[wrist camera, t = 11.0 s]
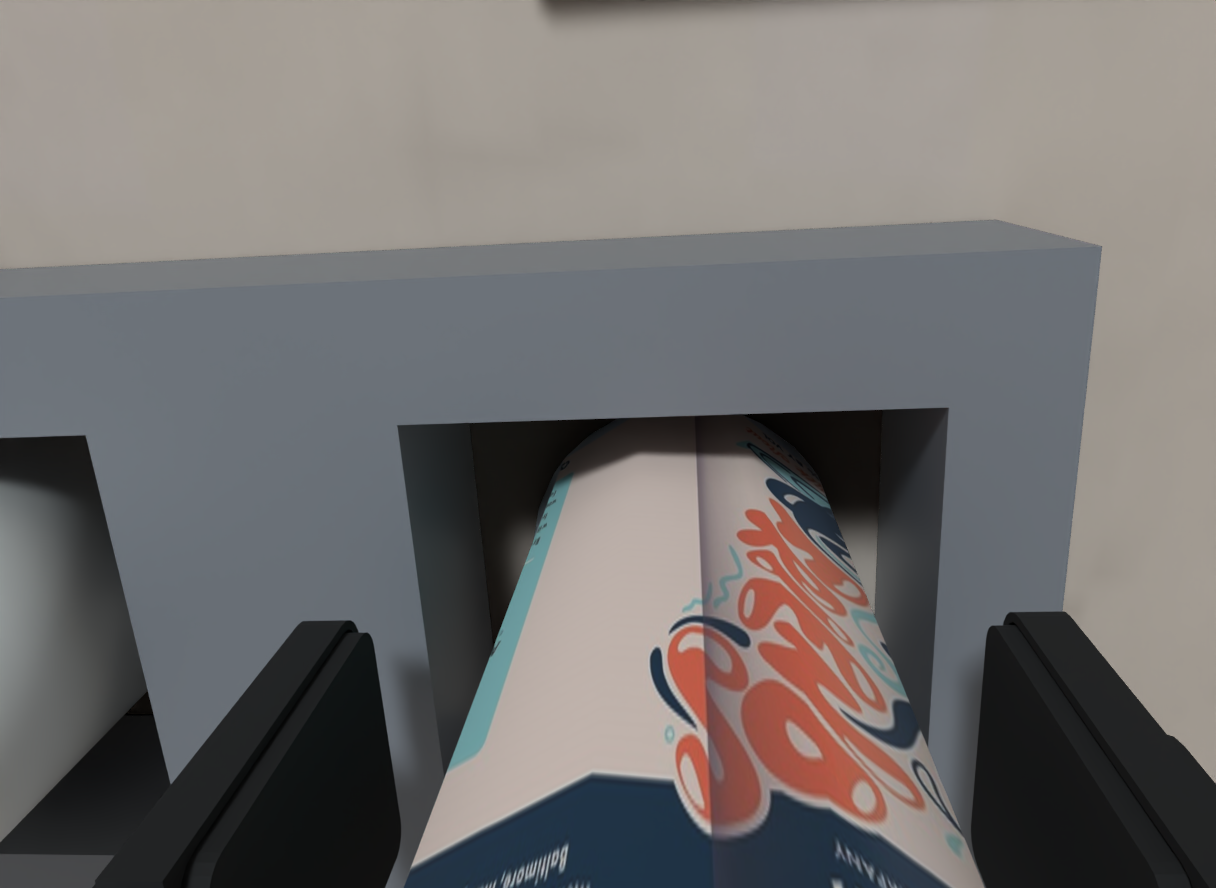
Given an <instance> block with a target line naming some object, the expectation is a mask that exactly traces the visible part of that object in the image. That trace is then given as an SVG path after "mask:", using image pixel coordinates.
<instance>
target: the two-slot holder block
mask: <svg viewBox="0 0 1216 888" xmlns="http://www.w3.org/2000/svg"><path fill="white" fill-rule="evenodd" d="M1101 251H1102V246H1099V245H1095V244H1091V243H1087V242H1083V241H1079V240H1075V239H1071V238H1067V237H1063V236H1059V235H1055V234H1051V233H1047V232H1043V231H1039V230H1035V229H1031V228H1027V227H1023V226H1019V225H1015V224H1011V223H1007V222H1003V221H999V220H982V221H962V222H942V223H922V224H902V225H882V226H862V227H841V228H821V229H801V230H781V231H761V232H741V233H721V234H701V235H681V236H661V237H641V238H621V239H600V240H580V241H560V242H540V243H520V244H500V245H480V246H460V247H440V248H420V249H400V250H380V251H360V252H339V253H319V254H299V255H279V256H259V257H239V258H219V259H199V260H179V261H159V262H139V263H119V264H98V265H78V266H58V267H38V268H18V269H0V888H92V887H93V886H94V885H95V880H96V879H97V877H98V876H99V875H100V873H101V872H102V871H103V870H104V868H105V867H106V866H107V865H108V863H109V862H110V861H111V860H112V858H113V857H114V856H115V855H116V853H117V852H118V851H119V850H120V848H121V847H122V846H123V845H124V843H125V842H126V841H127V839H128V838H129V837H130V836H131V834H132V833H133V832H134V831H135V829H136V828H137V827H138V826H139V824H140V823H141V822H142V821H143V819H144V818H145V817H146V816H147V814H148V813H149V812H150V810H151V809H152V808H153V807H154V805H155V804H156V803H157V802H158V800H159V799H160V798H161V797H162V795H163V794H164V793H165V792H166V790H167V789H168V788H169V787H170V785H171V784H172V783H173V781H174V780H175V779H176V778H177V776H178V775H179V774H180V773H181V771H182V770H183V769H184V768H185V766H186V765H187V764H188V763H189V761H190V760H191V759H192V758H193V756H194V755H195V754H196V753H197V751H198V750H199V749H200V747H201V746H202V745H203V744H204V742H205V741H206V740H207V739H208V737H209V736H210V735H211V734H212V732H213V731H214V730H215V729H216V727H217V726H218V725H219V724H220V722H221V721H222V720H223V718H224V717H225V716H226V715H227V713H228V712H229V711H230V710H231V708H232V707H233V706H234V705H235V703H236V702H237V701H238V700H239V698H240V697H241V696H242V695H243V693H244V692H245V691H246V689H247V688H248V687H249V686H250V684H251V683H252V682H253V681H254V679H255V678H256V677H257V676H258V674H259V673H260V672H261V671H262V669H263V668H264V667H265V666H266V664H267V663H268V662H269V661H270V659H271V658H272V657H273V655H274V654H275V653H276V652H277V650H278V649H279V648H280V647H281V645H282V644H283V643H284V642H285V640H286V639H287V638H288V637H289V635H290V634H291V633H292V632H293V630H294V629H295V628H296V626H297V625H298V624H300V623H301V622H302V621H334V620H351V621H352V622H354V623H355V625H356V627H357V629H358V632H359V633H369V634H370V635H371V637H372V639H373V644H374V649H375V655H376V662H377V668H378V675H379V681H380V688H381V694H382V701H383V708H384V714H385V721H386V727H387V734H388V740H389V747H390V753H391V760H392V766H393V773H394V779H395V786H396V792H397V799H398V806H399V812H400V819H401V842H400V848H399V853H398V856H397V859H396V862H395V864H394V867H393V869H392V872H391V874H390V877H389V879H388V882H387V884H386V887H385V888H403V887H404V884H405V882H406V879H407V876H408V874H409V871H410V868H411V866H412V863H413V860H414V858H415V855H416V852H417V850H418V847H419V844H420V842H421V839H422V836H423V834H424V831H425V828H426V826H427V823H428V820H429V818H430V815H431V812H432V810H433V807H434V804H435V802H436V799H437V796H438V794H439V791H440V788H441V786H442V783H443V780H444V778H445V775H446V772H447V770H448V767H449V764H450V762H451V759H452V756H453V754H454V751H455V748H456V746H457V743H458V740H459V738H460V735H461V732H462V730H463V727H464V724H465V722H466V719H467V716H468V714H469V711H470V708H471V706H472V703H473V700H474V698H475V695H476V692H477V690H478V687H479V684H480V682H481V679H482V676H483V674H484V671H485V668H486V666H487V663H488V660H489V658H490V655H491V652H492V650H493V639H492V630H491V620H490V611H489V602H488V592H487V583H486V574H485V564H484V555H483V546H482V536H481V527H480V518H479V509H478V499H477V490H476V481H475V471H474V462H473V453H472V443H471V434H470V425H469V423H481V422H512V421H543V420H574V419H605V418H636V417H667V416H698V415H730V414H761V413H792V412H823V411H854V410H882V436H881V462H880V489H879V515H878V541H877V568H876V594H875V619H876V621H877V624H878V626H879V628H880V631H881V633H882V636H883V638H884V641H885V643H886V646H887V648H888V651H889V653H890V656H891V658H892V661H893V663H894V665H895V668H896V670H897V673H898V675H899V678H900V680H901V683H902V685H903V688H904V690H905V693H906V695H907V698H908V700H909V702H910V705H911V707H912V710H913V712H914V715H915V717H916V720H917V722H918V725H919V727H920V730H921V732H922V735H923V737H924V740H925V742H926V744H927V747H928V749H929V752H930V754H931V757H932V759H933V762H934V764H935V767H936V769H937V772H938V774H939V777H940V779H941V781H942V784H943V786H944V789H945V791H946V794H947V796H948V799H949V801H950V804H951V806H952V809H953V811H954V814H955V816H956V818H957V821H958V823H959V826H960V828H961V831H962V833H963V836H964V838H965V841H966V843H967V846H968V848H969V851H970V853H971V856H972V858H973V860H974V863H975V865H976V868H977V870H978V873H979V875H980V878H981V880H982V883H983V885H984V888H986V886H985V883H984V881H983V879H982V876H981V874H980V871H979V869H978V866H977V863H976V860H975V857H974V853H973V847H972V841H971V819H972V806H973V794H974V781H975V769H976V757H977V744H978V732H979V720H980V707H981V695H982V682H983V670H984V658H985V645H986V636H987V632H988V629H989V627H990V626H991V625H1003V622H1004V620H1005V617H1006V615H1007V614H1008V613H1009V612H1054V611H1061V612H1062V610H1063V601H1064V592H1065V582H1066V573H1067V564H1068V555H1069V546H1070V536H1071V527H1072V518H1073V509H1074V500H1075V490H1076V481H1077V472H1078V463H1079V454H1080V444H1081V435H1082V426H1083V417H1084V407H1085V398H1086V389H1087V380H1088V371H1089V361H1090V352H1091V343H1092V334H1093V325H1094V315H1095V306H1096V297H1097V288H1098V279H1099V269H1100V260H1101ZM147 691H148V693H149V698H150V702H151V706H152V710H153V714H154V716H123V715H124V714H125V713H126V712H127V711H128V710H129V709H130V708H131V707H132V706H133V705H134V704H135V703H136V702H137V701H138V700H139V699H140V698H141V697H142V696H143V695H144V694H145V693H146V692H147Z"/></svg>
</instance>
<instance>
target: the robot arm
mask: <svg viewBox="0 0 1216 888" xmlns="http://www.w3.org/2000/svg"><path fill="white" fill-rule="evenodd" d="M971 841H972V847H973V853H974V857H975V860H976V863H977V866H978V869H979V871H980V874H981V876H982V879H983V881H984V883H985V886H986V888H1216V784H1215V783H1214V781H1213V780H1212V779H1211V778H1210V777H1209V775H1208V774H1207V773H1206V772H1205V770H1204V769H1203V768H1202V767H1201V766H1200V764H1199V763H1198V762H1197V761H1196V760H1195V758H1194V757H1193V756H1192V755H1191V754H1190V752H1189V751H1188V750H1187V749H1186V748H1185V746H1183V745H1182V744H1181V743H1180V742H1179V741H1178V740H1177V739H1176V738H1175V737H1173V736H1170V735H1167V734H1166V733H1165V732H1164V731H1163V729H1162V728H1161V727H1160V726H1159V724H1158V723H1157V722H1156V721H1155V720H1154V718H1153V717H1152V716H1151V715H1150V713H1149V712H1148V711H1147V710H1146V708H1145V707H1144V706H1143V705H1142V704H1141V702H1140V701H1139V700H1138V699H1137V697H1136V696H1135V695H1134V694H1133V693H1132V691H1131V690H1130V689H1129V688H1128V686H1127V685H1126V684H1125V683H1124V682H1123V680H1122V679H1121V678H1120V677H1119V675H1118V674H1117V673H1116V672H1115V671H1114V669H1113V668H1112V667H1111V666H1110V664H1109V663H1108V662H1107V661H1106V659H1105V658H1104V657H1103V656H1102V655H1101V653H1100V652H1099V651H1098V650H1097V648H1096V647H1095V646H1094V645H1093V644H1092V642H1091V641H1090V640H1089V639H1088V637H1087V636H1086V635H1085V634H1084V633H1083V631H1082V630H1081V629H1080V628H1079V626H1078V625H1077V624H1076V623H1075V622H1074V620H1073V619H1072V618H1071V617H1070V616H1069V615H1068V614H1067V613H1066V612H1061V611H1054V612H1009V613H1008V614H1007V615H1006V617H1005V620H1004V622H1003V625H991V626H990V627H989V629H988V632H987V636H986V645H985V658H984V670H983V682H982V695H981V707H980V720H979V732H978V744H977V757H976V769H975V781H974V794H973V806H972V819H971ZM400 842H401V819H400V812H399V806H398V799H397V792H396V786H395V779H394V773H393V766H392V760H391V753H390V747H389V740H388V734H387V727H386V721H385V714H384V708H383V701H382V694H381V688H380V681H379V675H378V668H377V662H376V655H375V649H374V644H373V639H372V637H371V635H370V634H369V633H359V632H358V629H357V627H356V625H355V623H354V622H352V621H351V620H334V621H302V622H301V623H300V624H298V625H297V626H296V628H295V629H294V630H293V632H292V633H291V634H290V635H289V637H288V638H287V639H286V640H285V642H284V643H283V644H282V645H281V647H280V648H279V649H278V650H277V652H276V653H275V654H274V655H273V657H272V658H271V659H270V661H269V662H268V663H267V664H266V666H265V667H264V668H263V669H262V671H261V672H260V673H259V674H258V676H257V677H256V678H255V679H254V681H253V682H252V683H251V684H250V686H249V687H248V688H247V689H246V691H245V692H244V693H243V695H242V696H241V697H240V698H239V700H238V701H237V702H236V703H235V705H234V706H233V707H232V708H231V710H230V711H229V712H228V713H227V715H226V716H225V717H224V718H223V720H222V721H221V722H220V724H219V725H218V726H217V727H216V729H215V730H214V731H213V732H212V734H211V735H210V736H209V737H208V739H207V740H206V741H205V742H204V744H203V745H202V746H201V747H200V749H199V750H198V751H197V753H196V754H195V755H194V756H193V758H192V759H191V760H190V761H189V763H188V764H187V765H186V766H185V768H184V769H183V770H182V771H181V773H180V774H179V775H178V776H177V778H176V779H175V780H174V781H173V783H172V784H171V785H170V787H169V788H168V789H167V790H166V792H165V793H164V794H163V795H162V797H161V798H160V799H159V800H158V802H157V803H156V804H155V805H154V807H153V808H152V809H151V810H150V812H149V813H148V814H147V816H146V817H145V818H144V819H143V821H142V822H141V823H140V824H139V826H138V827H137V828H136V829H135V831H134V832H133V833H132V834H131V836H130V837H129V838H128V839H127V841H126V842H125V843H124V845H123V846H122V847H121V848H120V850H119V851H118V852H117V853H116V855H115V856H114V857H113V858H112V860H111V861H110V862H109V863H108V865H107V866H106V867H105V868H104V870H103V871H102V872H101V873H100V875H99V876H98V877H97V879H96V880H95V885H94V886H93V887H92V888H385V887H386V884H387V882H388V879H389V877H390V874H391V872H392V869H393V867H394V864H395V862H396V859H397V856H398V853H399V848H400Z"/></svg>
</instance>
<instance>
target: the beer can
mask: <svg viewBox="0 0 1216 888" xmlns="http://www.w3.org/2000/svg"><path fill="white" fill-rule="evenodd" d="M403 888H984V885H983V883H982V880H981V878H980V875H979V873H978V870H977V868H976V865H975V863H974V860H973V858H972V856H971V853H970V851H969V848H968V846H967V843H966V841H965V838H964V836H963V833H962V831H961V828H960V826H959V823H958V821H957V818H956V816H955V814H954V811H953V809H952V806H951V804H950V801H949V799H948V796H947V794H946V791H945V789H944V786H943V784H942V781H941V779H940V777H939V774H938V772H937V769H936V767H935V764H934V762H933V759H932V757H931V754H930V752H929V749H928V747H927V744H926V742H925V740H924V737H923V735H922V732H921V730H920V727H919V725H918V722H917V720H916V717H915V715H914V712H913V710H912V707H911V705H910V702H909V700H908V698H907V695H906V693H905V690H904V688H903V685H902V683H901V680H900V678H899V675H898V673H897V670H896V668H895V665H894V663H893V661H892V658H891V656H890V653H889V651H888V648H887V646H886V643H885V641H884V638H883V636H882V633H881V631H880V628H879V626H878V624H877V621H876V619H875V616H874V614H873V611H872V609H871V606H870V604H869V601H868V599H867V596H866V594H865V591H864V589H863V586H862V584H861V582H860V579H859V577H858V574H857V572H856V569H855V567H854V564H853V562H852V559H851V557H850V554H849V552H848V549H847V547H846V545H845V542H844V540H843V537H842V535H841V532H840V530H839V527H838V525H837V522H836V520H835V517H834V515H833V512H832V510H831V508H830V505H829V503H828V500H827V498H826V495H825V492H824V489H823V486H822V484H821V482H820V479H819V477H818V475H817V474H816V472H815V471H814V470H813V468H812V467H811V466H810V464H809V463H808V462H807V461H806V460H805V459H804V458H803V457H802V455H801V454H800V453H799V452H798V451H797V450H796V449H795V447H793V446H792V445H791V444H789V443H788V442H787V441H785V440H784V439H782V438H781V437H780V436H778V435H777V434H775V433H774V432H773V431H771V430H770V429H769V428H767V427H766V426H764V425H763V424H761V423H759V422H757V421H754V420H752V419H750V418H748V417H745V416H743V415H741V414H730V415H698V416H667V417H636V418H618V419H616V420H615V421H613V422H611V423H609V424H608V425H606V426H604V427H602V428H601V429H599V430H597V431H595V432H594V433H592V434H590V435H589V436H588V437H587V438H586V439H585V440H584V441H583V442H582V443H580V444H579V445H578V446H577V447H576V448H575V449H574V450H573V451H572V452H570V453H569V454H568V455H567V456H566V458H565V459H564V460H563V461H562V463H561V464H560V466H559V467H558V469H557V470H556V471H555V473H554V474H553V477H552V479H551V481H550V484H549V486H548V488H547V490H546V493H545V495H544V497H543V499H542V502H541V504H540V506H539V511H538V517H537V523H536V529H535V535H534V541H533V543H532V546H531V549H530V551H529V554H528V557H527V559H526V562H525V565H524V567H523V570H522V573H521V575H520V578H519V581H518V583H517V586H516V588H515V591H514V594H513V596H512V599H511V602H510V604H509V607H508V610H507V612H506V615H505V618H504V620H503V623H502V626H501V628H500V631H499V634H498V636H497V639H496V642H495V644H494V647H493V650H492V652H491V655H490V658H489V660H488V663H487V666H486V668H485V671H484V674H483V676H482V679H481V682H480V684H479V687H478V690H477V692H476V695H475V698H474V700H473V703H472V706H471V708H470V711H469V714H468V716H467V719H466V722H465V724H464V727H463V730H462V732H461V735H460V738H459V740H458V743H457V746H456V748H455V751H454V754H453V756H452V759H451V762H450V764H449V767H448V770H447V772H446V775H445V778H444V780H443V783H442V786H441V788H440V791H439V794H438V796H437V799H436V802H435V804H434V807H433V810H432V812H431V815H430V818H429V820H428V823H427V826H426V828H425V831H424V834H423V836H422V839H421V842H420V844H419V847H418V850H417V852H416V855H415V858H414V860H413V863H412V866H411V868H410V871H409V874H408V876H407V879H406V882H405V884H404V887H403Z"/></svg>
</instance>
